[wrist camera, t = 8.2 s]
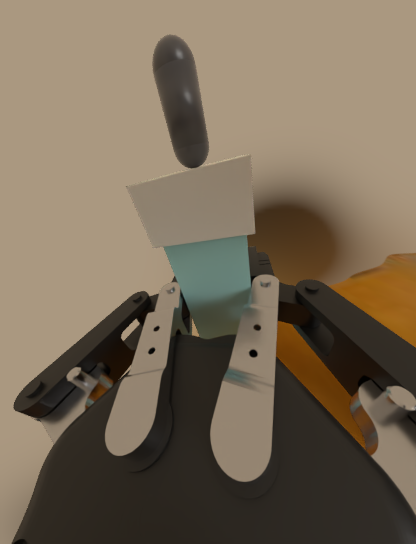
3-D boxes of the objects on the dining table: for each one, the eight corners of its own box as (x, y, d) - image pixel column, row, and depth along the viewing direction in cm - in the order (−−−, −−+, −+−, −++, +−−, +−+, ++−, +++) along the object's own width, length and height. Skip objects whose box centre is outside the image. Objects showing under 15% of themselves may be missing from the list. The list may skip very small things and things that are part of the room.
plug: (258, 343, 17) (237, 46, 6) (263, 389, 14) (237, -86, 3) (218, 342, 18) (140, 86, 7) (214, 386, 15) (53, 24, 4)
